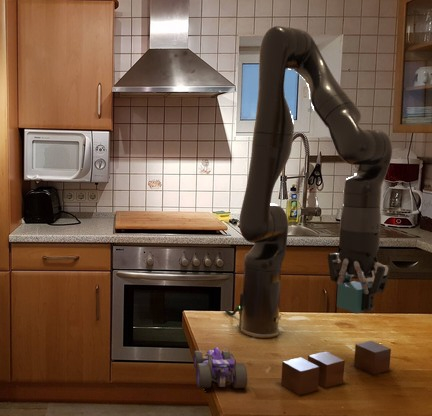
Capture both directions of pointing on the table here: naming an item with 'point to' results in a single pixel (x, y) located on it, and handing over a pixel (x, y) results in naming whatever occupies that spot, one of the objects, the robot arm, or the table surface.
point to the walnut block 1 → (300, 376)
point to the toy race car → (219, 369)
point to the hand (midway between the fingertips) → (354, 306)
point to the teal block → (350, 296)
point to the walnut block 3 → (372, 357)
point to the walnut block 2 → (328, 368)
